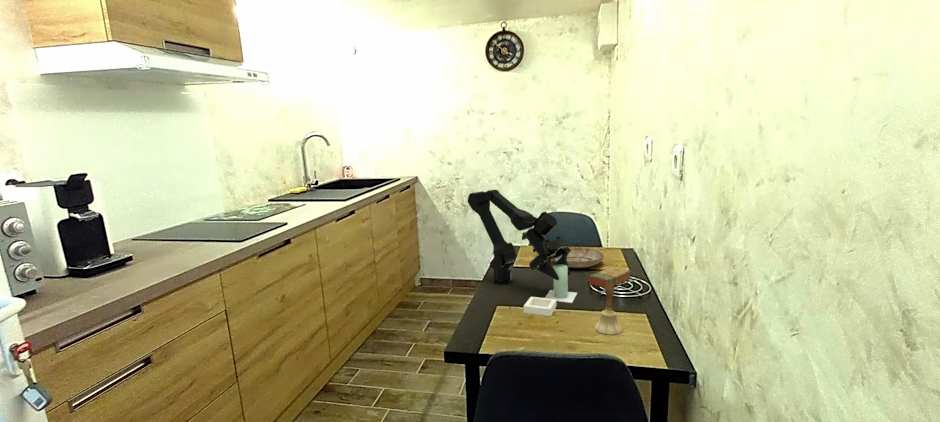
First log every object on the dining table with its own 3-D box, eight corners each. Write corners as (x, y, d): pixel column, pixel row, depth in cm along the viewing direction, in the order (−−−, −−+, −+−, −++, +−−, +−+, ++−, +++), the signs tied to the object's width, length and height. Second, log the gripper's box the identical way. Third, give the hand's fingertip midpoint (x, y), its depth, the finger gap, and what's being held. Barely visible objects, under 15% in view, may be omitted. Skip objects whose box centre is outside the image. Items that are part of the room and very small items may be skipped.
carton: (629, 280, 187) (630, 270, 187) (607, 290, 177) (607, 279, 176) (611, 275, 193) (611, 265, 193) (588, 285, 183) (589, 274, 182)
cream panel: (543, 301, 167) (543, 299, 167) (550, 291, 176) (550, 289, 176) (572, 304, 164) (572, 302, 163) (577, 294, 173) (577, 292, 172)
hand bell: (603, 321, 150) (604, 273, 147) (627, 328, 144) (629, 278, 141) (589, 329, 144) (589, 279, 141) (613, 337, 138) (615, 285, 135)
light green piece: (555, 298, 167) (555, 268, 166) (552, 293, 172) (551, 264, 170) (569, 297, 168) (569, 267, 166) (565, 293, 172) (565, 264, 171)
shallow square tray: (523, 314, 157) (523, 306, 156) (530, 304, 165) (530, 296, 164) (550, 317, 153) (550, 309, 153) (556, 307, 161) (556, 299, 161)
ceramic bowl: (610, 260, 213) (610, 250, 212) (593, 275, 194) (594, 263, 193) (561, 254, 226) (561, 244, 225) (541, 267, 206) (541, 256, 205)
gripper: (535, 234, 162) (562, 271, 156) (566, 224, 175) (592, 259, 169) (518, 252, 169) (543, 288, 163) (549, 242, 182) (573, 275, 176)
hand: (564, 277), depth 168 cm, fingers open, 7 cm apart
